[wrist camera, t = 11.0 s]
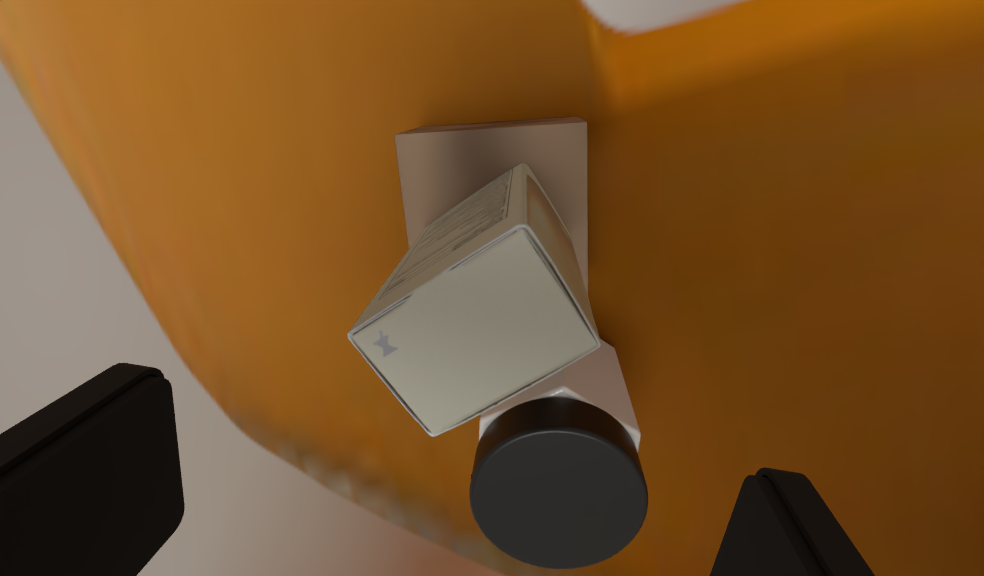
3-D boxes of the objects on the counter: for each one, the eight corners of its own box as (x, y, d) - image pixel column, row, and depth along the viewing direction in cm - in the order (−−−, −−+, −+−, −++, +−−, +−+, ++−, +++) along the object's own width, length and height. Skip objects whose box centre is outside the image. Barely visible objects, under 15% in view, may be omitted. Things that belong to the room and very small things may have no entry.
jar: (462, 382, 36) (427, 514, 24) (529, 290, 33) (524, 390, 22) (570, 447, 37) (584, 601, 26) (643, 362, 34) (695, 494, 23)
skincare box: (470, 295, 27) (423, 448, 16) (421, 227, 26) (332, 340, 15) (577, 231, 26) (610, 351, 14) (530, 155, 24) (524, 220, 13)
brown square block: (577, 116, 29) (587, 122, 24) (579, 268, 33) (588, 304, 27) (420, 126, 30) (394, 134, 25) (437, 273, 33) (416, 309, 28)
